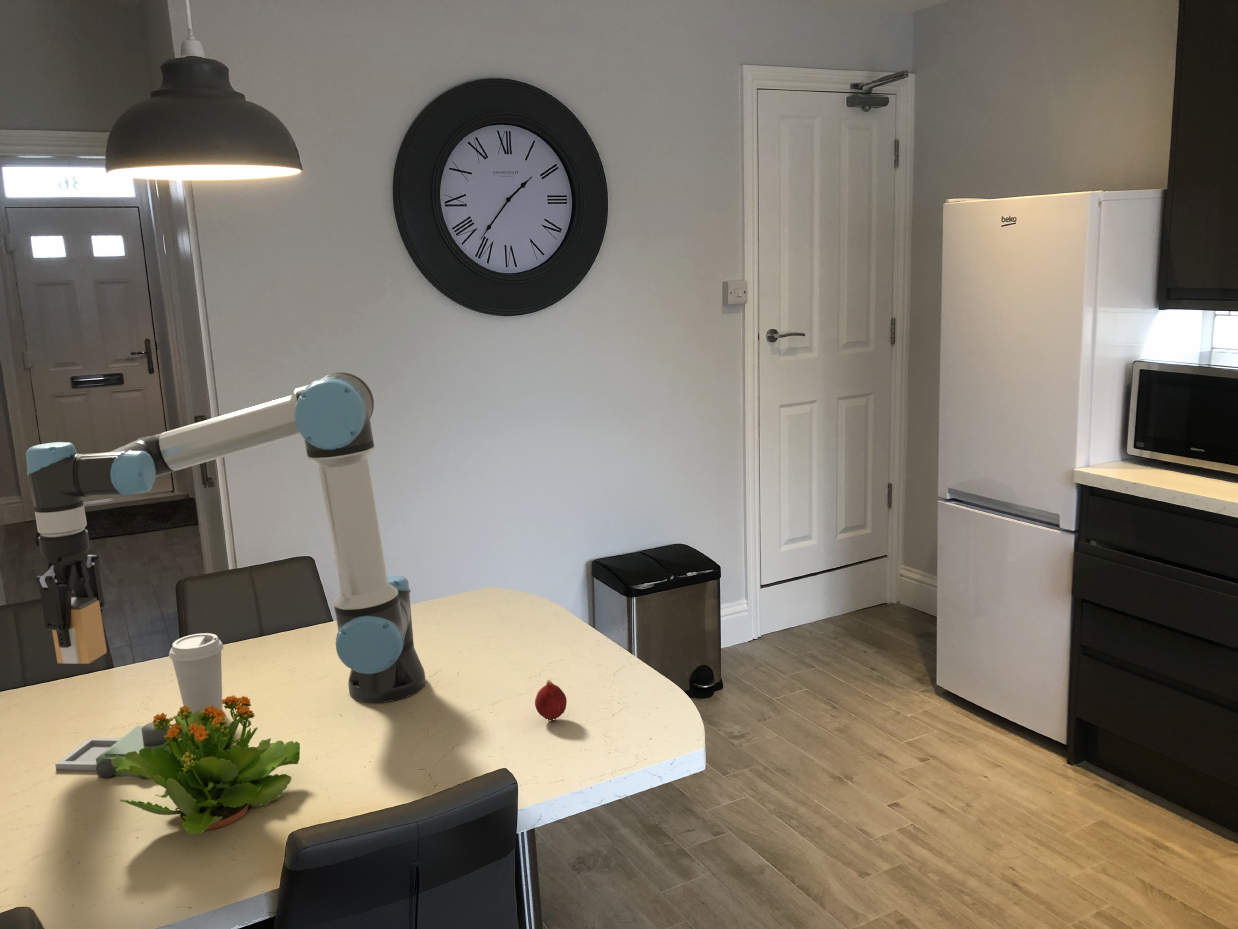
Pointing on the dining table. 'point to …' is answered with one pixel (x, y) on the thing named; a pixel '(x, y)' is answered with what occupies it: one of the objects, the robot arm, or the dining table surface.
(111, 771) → the wheeled tray
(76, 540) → the robot arm
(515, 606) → the dining table surface
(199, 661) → the coffee cup
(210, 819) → the potted flower
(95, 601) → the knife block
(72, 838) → the dining table surface
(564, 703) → the onion
